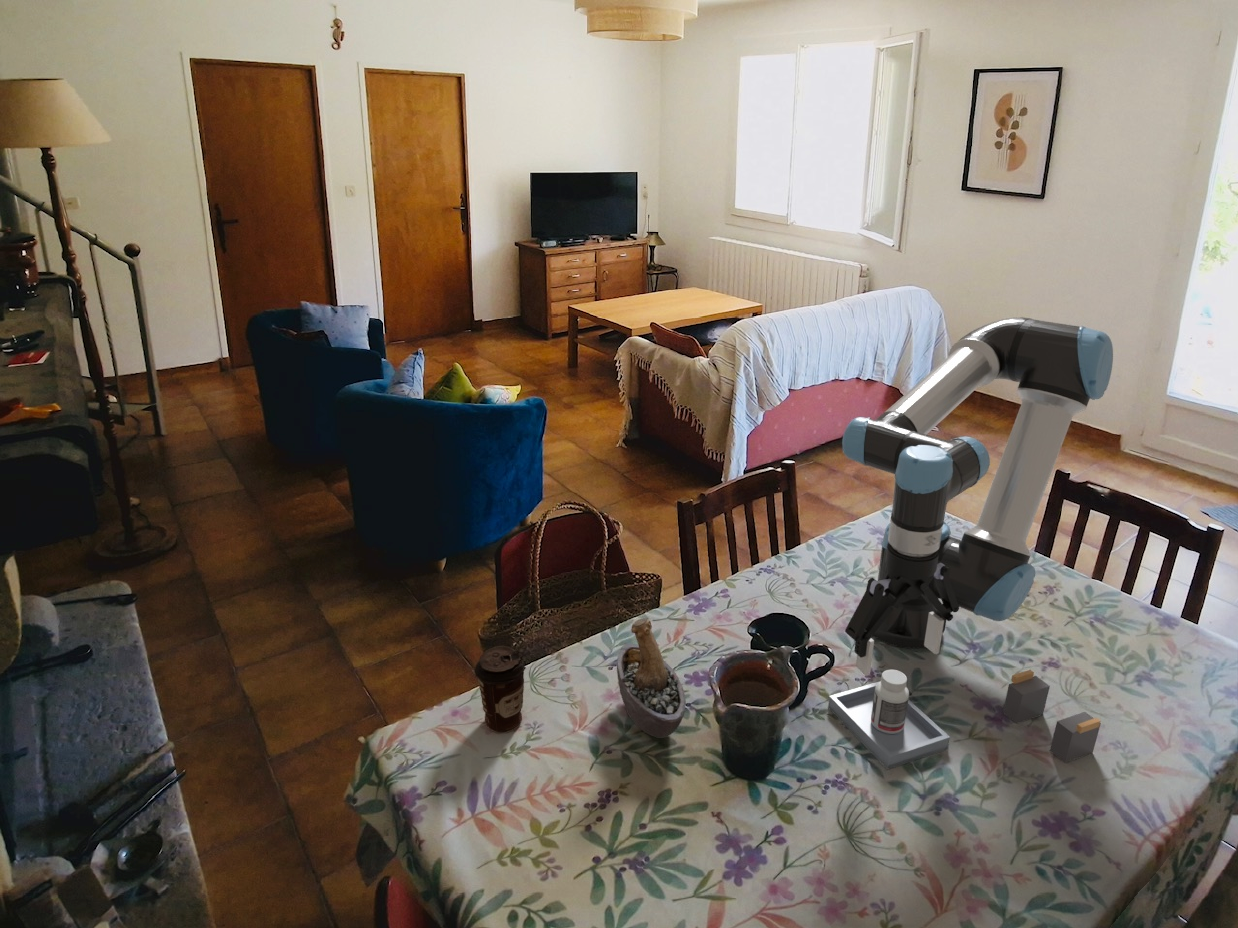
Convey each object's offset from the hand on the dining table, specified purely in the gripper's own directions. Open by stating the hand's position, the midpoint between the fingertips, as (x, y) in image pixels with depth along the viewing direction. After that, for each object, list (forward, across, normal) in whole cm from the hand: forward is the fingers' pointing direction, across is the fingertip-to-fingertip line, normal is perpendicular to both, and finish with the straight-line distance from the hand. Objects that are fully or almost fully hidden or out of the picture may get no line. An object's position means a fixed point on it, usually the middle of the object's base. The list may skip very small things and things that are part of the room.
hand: (897, 659), depth 137 cm
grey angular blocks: (+14, +23, -11) cm, 29 cm away
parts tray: (+14, -1, 0) cm, 14 cm away
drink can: (+13, -60, +26) cm, 66 cm away
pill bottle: (+13, -1, 0) cm, 13 cm away
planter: (+13, -37, +17) cm, 42 cm away
